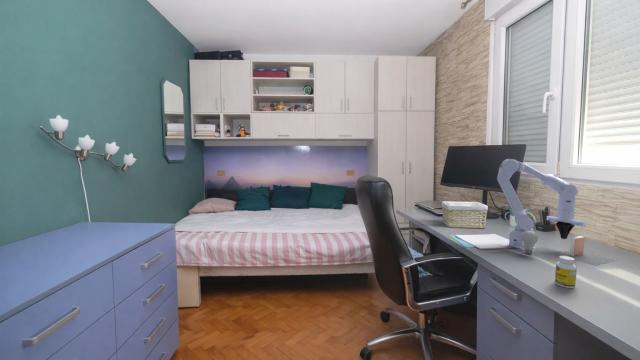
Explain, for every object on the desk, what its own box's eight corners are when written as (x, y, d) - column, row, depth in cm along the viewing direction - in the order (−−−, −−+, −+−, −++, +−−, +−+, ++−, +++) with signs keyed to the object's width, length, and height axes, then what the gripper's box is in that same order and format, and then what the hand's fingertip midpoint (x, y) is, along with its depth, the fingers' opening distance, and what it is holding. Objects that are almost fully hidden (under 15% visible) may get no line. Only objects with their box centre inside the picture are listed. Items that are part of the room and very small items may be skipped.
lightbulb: (533, 253, 130) (535, 229, 129) (539, 257, 124) (540, 233, 123) (518, 251, 132) (519, 228, 131) (522, 255, 126) (524, 231, 125)
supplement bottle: (550, 281, 100) (552, 255, 99) (564, 281, 101) (566, 254, 100) (565, 289, 95) (567, 260, 94) (579, 288, 95) (582, 260, 94)
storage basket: (446, 228, 176) (447, 204, 175) (439, 222, 192) (440, 200, 190) (487, 229, 172) (489, 205, 171) (477, 223, 188) (478, 201, 187)
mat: (595, 267, 113) (595, 265, 113) (553, 254, 127) (553, 253, 127) (617, 261, 119) (618, 260, 119) (575, 250, 133) (575, 249, 133)
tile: (573, 256, 124) (575, 238, 123) (569, 255, 126) (570, 237, 125) (583, 254, 126) (584, 236, 126) (579, 253, 128) (580, 236, 127)
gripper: (590, 212, 124) (588, 242, 125) (553, 206, 138) (551, 233, 139) (581, 213, 122) (578, 243, 123) (544, 207, 135) (542, 235, 137)
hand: (563, 238), depth 131 cm, fingers closed
